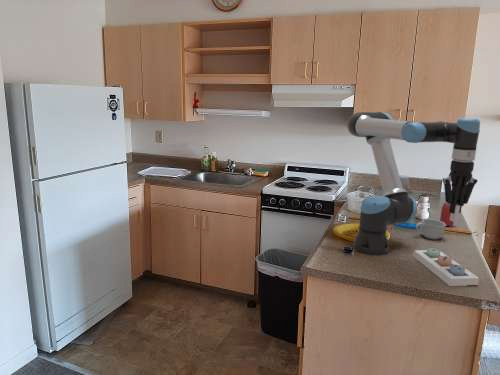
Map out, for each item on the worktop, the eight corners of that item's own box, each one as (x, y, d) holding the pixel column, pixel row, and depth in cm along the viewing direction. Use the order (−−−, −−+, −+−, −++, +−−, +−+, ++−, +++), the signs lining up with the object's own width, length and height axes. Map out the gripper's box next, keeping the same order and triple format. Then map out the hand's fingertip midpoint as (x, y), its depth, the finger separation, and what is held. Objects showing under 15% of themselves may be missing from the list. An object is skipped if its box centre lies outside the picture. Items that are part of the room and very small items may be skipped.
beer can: (436, 223, 211) (440, 202, 208) (448, 223, 212) (451, 202, 209) (443, 227, 205) (447, 205, 202) (455, 227, 205) (459, 205, 202)
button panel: (449, 286, 140) (451, 278, 140) (413, 256, 165) (414, 250, 165) (477, 285, 141) (479, 278, 141) (437, 256, 166) (438, 250, 166)
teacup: (438, 234, 194) (441, 219, 192) (447, 242, 184) (449, 226, 182) (410, 232, 196) (412, 217, 194) (417, 240, 185) (419, 224, 183)
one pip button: (430, 259, 158) (431, 252, 157) (423, 254, 163) (424, 247, 162) (441, 259, 158) (442, 252, 158) (434, 254, 163) (436, 247, 163)
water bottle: (387, 219, 216) (392, 175, 210) (396, 217, 219) (402, 174, 213) (400, 224, 208) (405, 179, 202) (410, 222, 211) (416, 177, 206)
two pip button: (454, 277, 142) (455, 269, 142) (446, 271, 147) (447, 264, 147) (466, 277, 143) (468, 269, 142) (458, 271, 148) (459, 263, 147)
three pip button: (441, 268, 150) (442, 260, 149) (434, 262, 155) (435, 255, 154) (453, 268, 151) (454, 260, 150) (446, 262, 156) (447, 255, 155)
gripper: (452, 162, 139) (443, 224, 144) (486, 162, 140) (475, 224, 145) (440, 158, 146) (432, 218, 151) (472, 159, 147) (463, 218, 153)
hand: (453, 221), depth 148 cm, fingers closed
